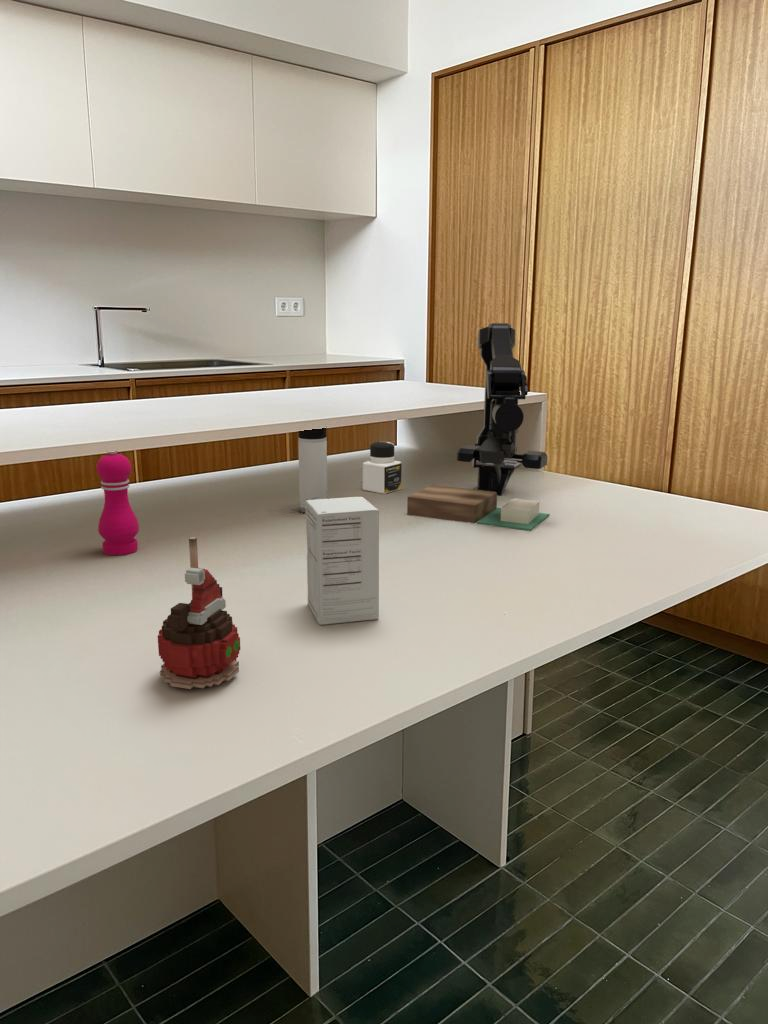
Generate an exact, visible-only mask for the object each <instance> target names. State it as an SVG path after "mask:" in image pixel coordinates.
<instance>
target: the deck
mask: <svg viewBox="0 0 768 1024" xmlns="http://www.w3.org/2000/svg"><path fill="white" fill-rule="evenodd" d="M497 503H498V495H497V492H492V491H483V490H474V488H467V487H454V486H448V485H440V484H439V485H437V484H431V485H429V486H427V487H425V488H423V489H421V490H419V491H417V492H414V493H412V494H411V495H408V496H407V505H406V506H407V507H406V510H407V511H406V513H407V515H411V516H417V517H426V518H431V519H432V518H434V519H439V520H446V521H453V520H454V521H455V522H460V521H462V522H461V523H468V522H470V523H471V524H476V522H477V521H478V520H480V519H481V518H483V517H484V516H486V515H487V514H489V513H490V512H492V511H493V510H495V509H496V508H498V507H497Z"/></svg>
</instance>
